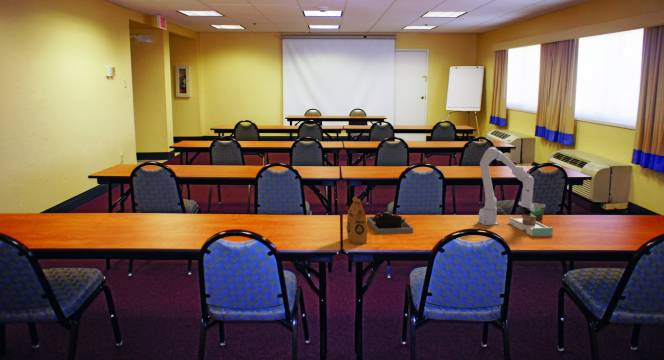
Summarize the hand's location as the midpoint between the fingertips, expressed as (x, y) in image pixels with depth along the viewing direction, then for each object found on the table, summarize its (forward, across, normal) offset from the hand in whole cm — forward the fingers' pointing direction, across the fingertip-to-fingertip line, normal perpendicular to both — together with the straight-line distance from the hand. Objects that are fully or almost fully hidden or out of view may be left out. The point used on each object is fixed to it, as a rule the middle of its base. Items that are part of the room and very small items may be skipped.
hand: (525, 220), depth 290 cm
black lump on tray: (+4, +6, +78) cm, 79 cm away
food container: (+4, +15, -13) cm, 20 cm away
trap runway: (+3, -5, 0) cm, 6 cm away
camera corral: (+3, +9, +77) cm, 78 cm away
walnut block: (+1, -4, 0) cm, 4 cm away
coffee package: (+4, -15, +100) cm, 101 cm away
